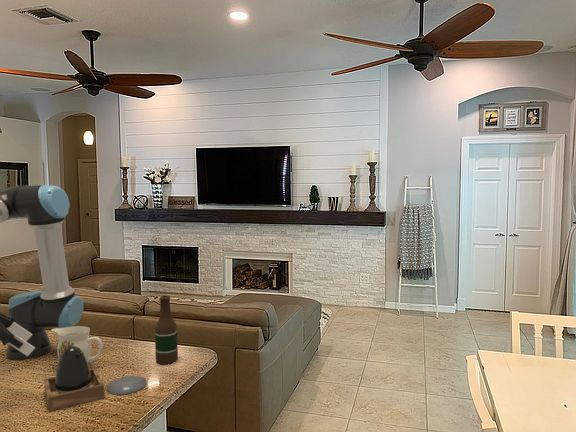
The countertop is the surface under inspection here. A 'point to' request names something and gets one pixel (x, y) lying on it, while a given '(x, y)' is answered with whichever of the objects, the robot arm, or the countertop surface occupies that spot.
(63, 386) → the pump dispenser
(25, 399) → the countertop surface
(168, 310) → the beer bottle
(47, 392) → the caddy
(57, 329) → the pitcher
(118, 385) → the coaster
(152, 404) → the countertop surface
